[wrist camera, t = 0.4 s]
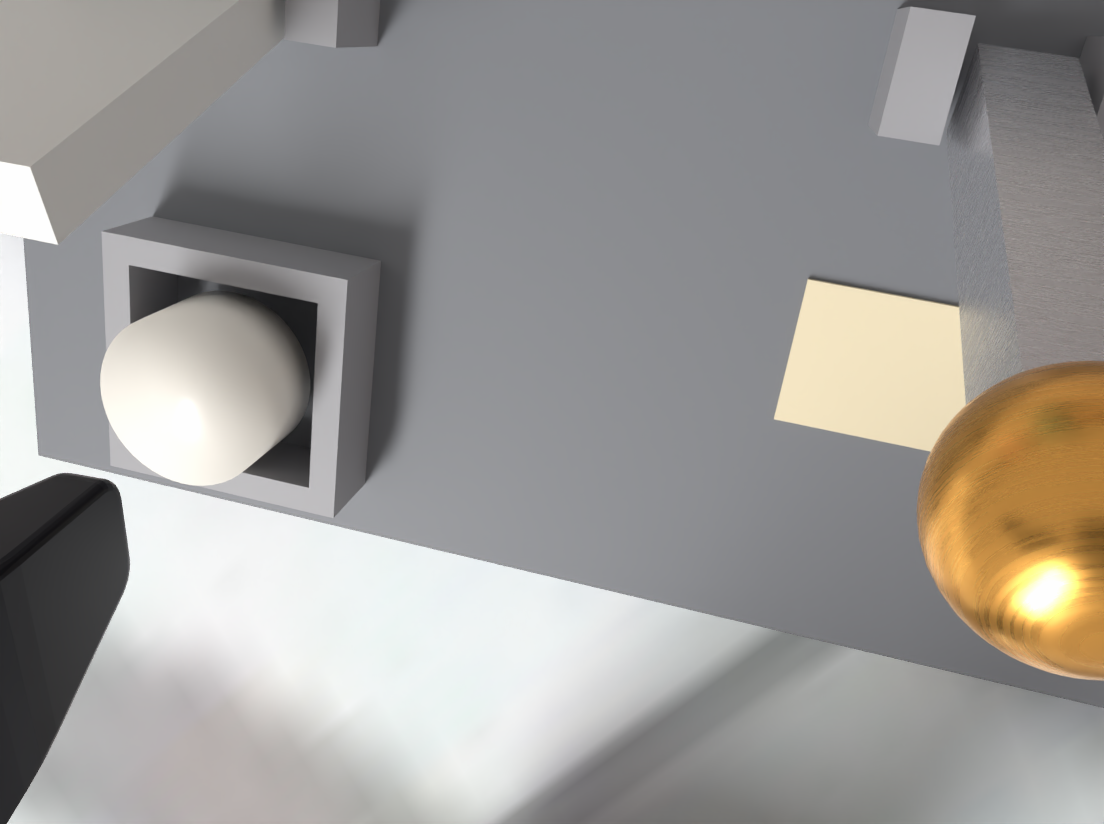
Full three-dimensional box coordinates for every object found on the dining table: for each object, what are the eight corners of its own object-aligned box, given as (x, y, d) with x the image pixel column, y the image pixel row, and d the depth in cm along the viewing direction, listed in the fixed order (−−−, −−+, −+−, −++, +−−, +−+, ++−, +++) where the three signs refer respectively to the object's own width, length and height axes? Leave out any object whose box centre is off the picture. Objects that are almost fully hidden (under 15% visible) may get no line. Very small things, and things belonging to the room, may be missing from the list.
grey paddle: (304, 18, 19) (57, 245, 14) (28, -25, 20) (-310, 170, 14) (296, -46, 18) (30, 166, 13) (9, -88, 19) (-359, 93, 14)
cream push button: (306, 463, 22) (263, 502, 20) (158, 429, 22) (103, 464, 21) (313, 308, 21) (268, 335, 19) (156, 276, 21) (96, 299, 19)
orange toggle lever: (1069, 193, 18) (1205, 776, 10) (887, 163, 18) (878, 696, 10) (1152, 16, 16) (1416, 583, 8) (944, -13, 16) (986, 494, 8)
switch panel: (1097, 669, 23) (1149, 775, 19) (66, 431, 26) (-31, 485, 23) (1430, -110, 17) (1586, -145, 13) (27, -275, 20) (-114, -332, 17)
